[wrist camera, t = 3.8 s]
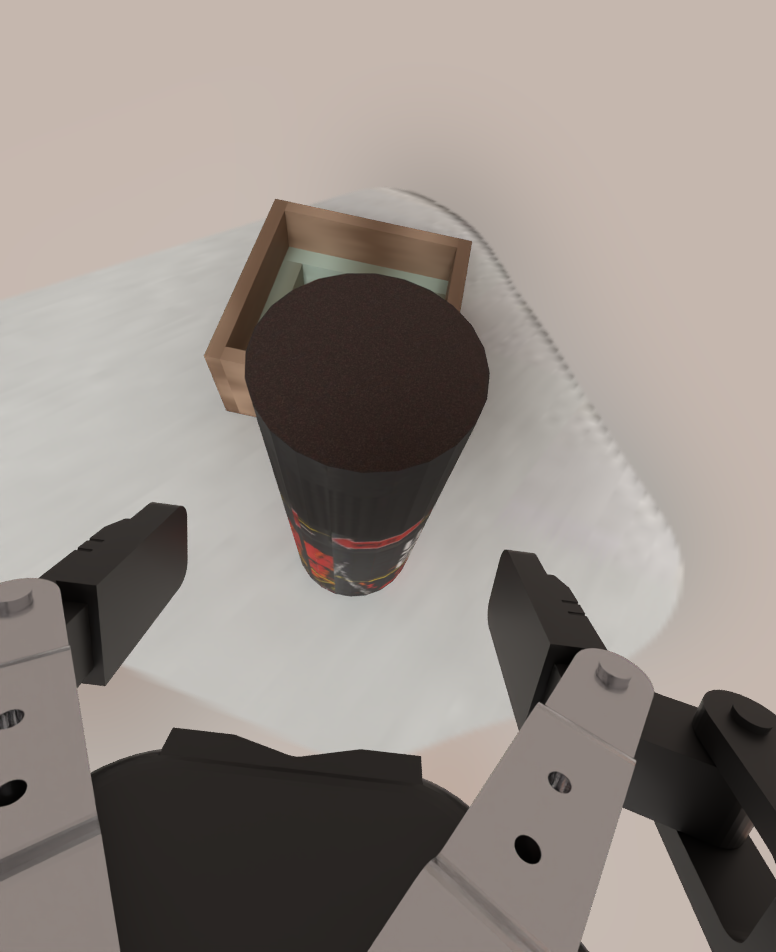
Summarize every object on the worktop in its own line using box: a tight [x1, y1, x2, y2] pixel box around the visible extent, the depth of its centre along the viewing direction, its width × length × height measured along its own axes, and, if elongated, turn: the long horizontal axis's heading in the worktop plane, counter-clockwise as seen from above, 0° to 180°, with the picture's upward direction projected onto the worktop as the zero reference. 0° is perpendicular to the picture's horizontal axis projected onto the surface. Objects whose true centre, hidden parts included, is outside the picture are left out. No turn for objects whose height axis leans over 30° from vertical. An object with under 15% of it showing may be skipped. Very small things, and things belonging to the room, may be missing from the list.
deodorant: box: [245, 273, 490, 596], centre depth 18 cm, size 6×6×15 cm
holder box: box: [204, 199, 472, 417], centre depth 28 cm, size 12×12×5 cm
